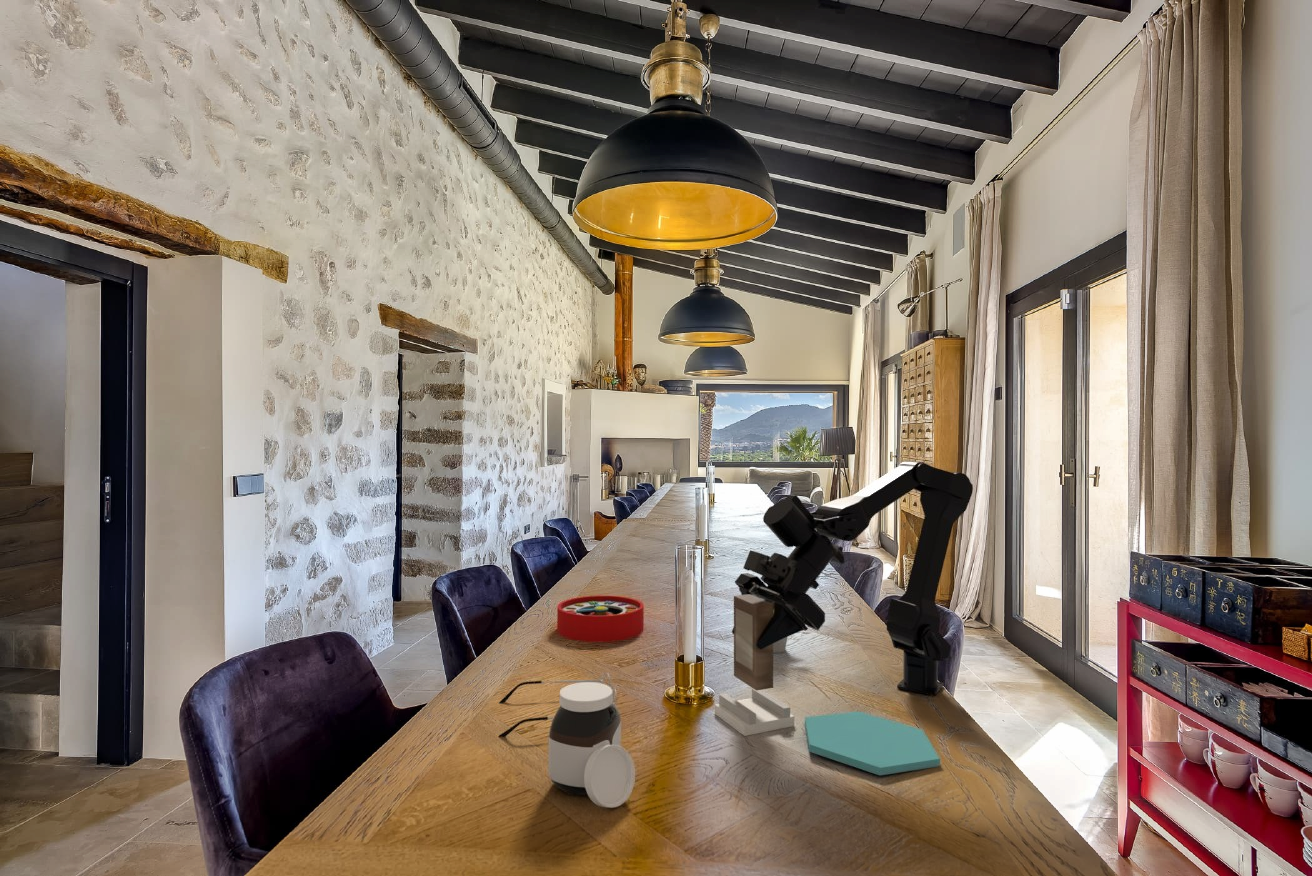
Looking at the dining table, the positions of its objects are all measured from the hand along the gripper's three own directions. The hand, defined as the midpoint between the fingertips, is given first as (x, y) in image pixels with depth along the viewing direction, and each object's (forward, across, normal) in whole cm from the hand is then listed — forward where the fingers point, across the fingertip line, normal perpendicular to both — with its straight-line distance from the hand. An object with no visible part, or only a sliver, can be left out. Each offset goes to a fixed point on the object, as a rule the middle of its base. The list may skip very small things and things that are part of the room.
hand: (745, 640), depth 107 cm
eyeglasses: (+28, -13, -10) cm, 33 cm away
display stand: (+8, 0, +10) cm, 13 cm away
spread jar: (+29, +11, -11) cm, 33 cm away
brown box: (+4, 0, +6) cm, 7 cm away
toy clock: (+13, -57, +6) cm, 59 cm away
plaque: (+1, +14, +18) cm, 23 cm away
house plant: (-8, -28, +26) cm, 39 cm away
